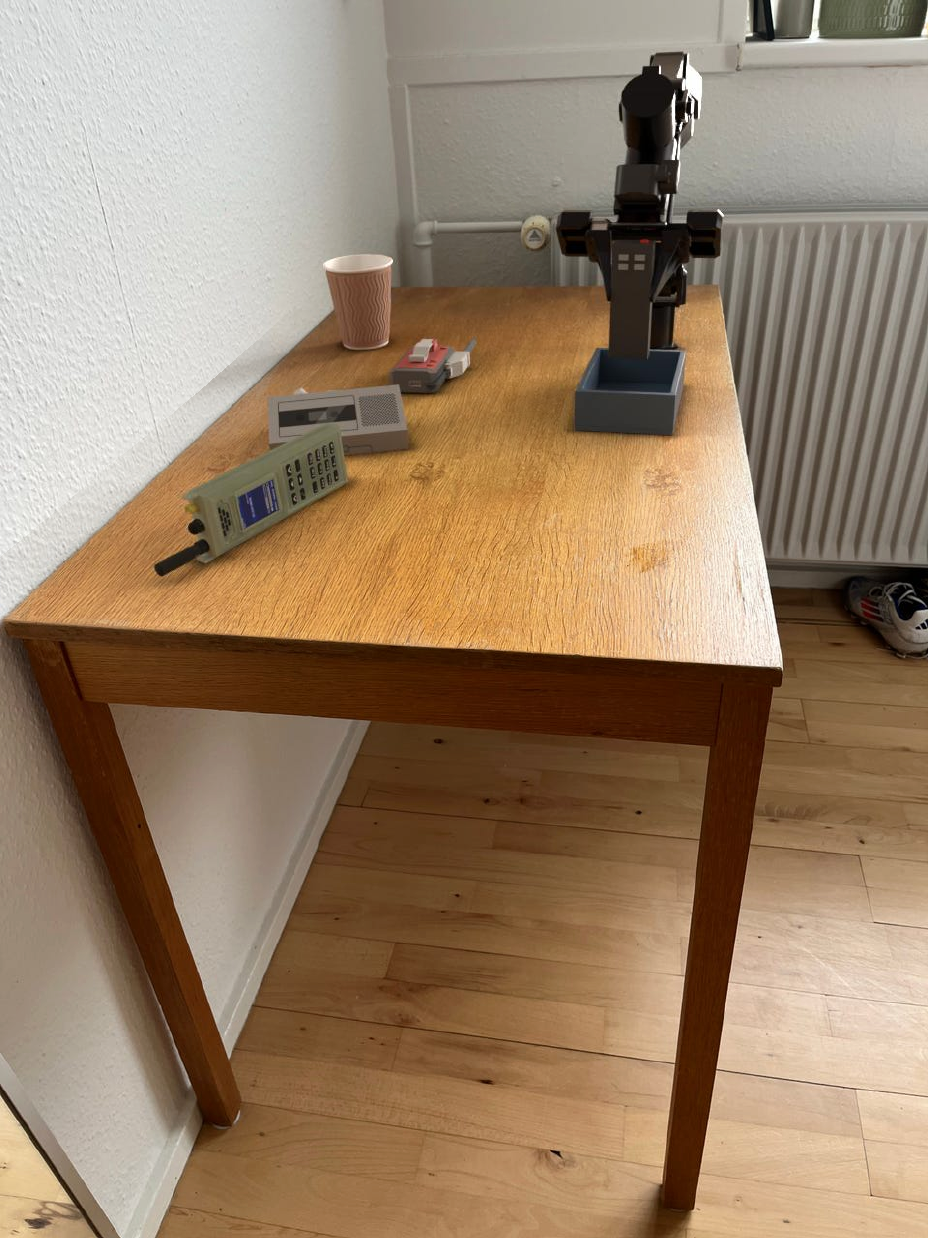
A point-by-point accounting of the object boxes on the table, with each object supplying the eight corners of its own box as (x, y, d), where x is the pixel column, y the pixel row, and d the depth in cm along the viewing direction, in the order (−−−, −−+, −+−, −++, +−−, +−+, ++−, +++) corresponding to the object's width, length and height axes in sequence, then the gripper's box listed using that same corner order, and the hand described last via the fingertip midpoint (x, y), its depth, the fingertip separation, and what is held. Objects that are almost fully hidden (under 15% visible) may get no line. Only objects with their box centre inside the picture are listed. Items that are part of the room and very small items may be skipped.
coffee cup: (412, 338, 147) (406, 256, 141) (372, 357, 140) (363, 272, 133) (360, 330, 152) (351, 251, 145) (318, 348, 145) (307, 266, 138)
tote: (595, 383, 126) (596, 347, 123) (683, 387, 123) (686, 350, 120) (574, 430, 112) (574, 390, 110) (672, 435, 110) (675, 395, 107)
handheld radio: (353, 484, 103) (173, 587, 86) (331, 479, 104) (150, 579, 88) (344, 425, 99) (155, 520, 82) (321, 421, 101) (131, 513, 84)
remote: (611, 352, 116) (614, 237, 108) (649, 353, 114) (655, 237, 107) (608, 358, 114) (611, 242, 106) (646, 360, 112) (653, 242, 105)
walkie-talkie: (450, 397, 124) (481, 350, 140) (448, 364, 121) (480, 320, 138) (385, 396, 126) (424, 349, 142) (382, 363, 123) (421, 319, 140)
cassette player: (268, 443, 107) (267, 392, 113) (272, 462, 109) (271, 410, 115) (407, 429, 108) (398, 379, 115) (408, 448, 110) (399, 398, 117)
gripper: (559, 132, 107) (538, 258, 104) (731, 128, 102) (714, 261, 99) (571, 195, 117) (553, 311, 115) (728, 195, 112) (712, 316, 110)
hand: (629, 299), depth 109 cm, fingers closed on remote, 4 cm apart
